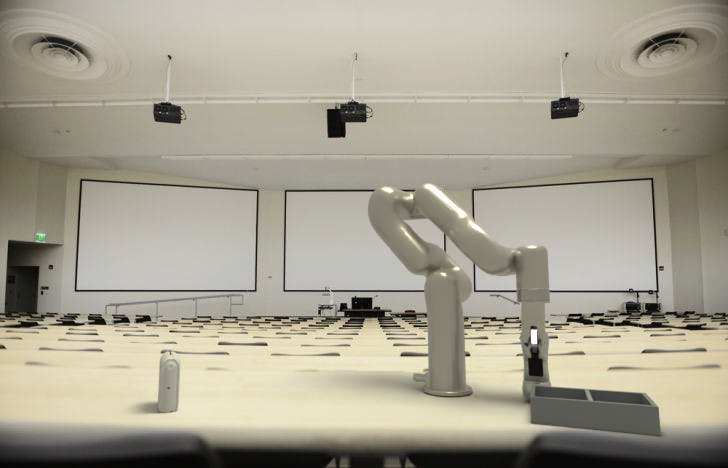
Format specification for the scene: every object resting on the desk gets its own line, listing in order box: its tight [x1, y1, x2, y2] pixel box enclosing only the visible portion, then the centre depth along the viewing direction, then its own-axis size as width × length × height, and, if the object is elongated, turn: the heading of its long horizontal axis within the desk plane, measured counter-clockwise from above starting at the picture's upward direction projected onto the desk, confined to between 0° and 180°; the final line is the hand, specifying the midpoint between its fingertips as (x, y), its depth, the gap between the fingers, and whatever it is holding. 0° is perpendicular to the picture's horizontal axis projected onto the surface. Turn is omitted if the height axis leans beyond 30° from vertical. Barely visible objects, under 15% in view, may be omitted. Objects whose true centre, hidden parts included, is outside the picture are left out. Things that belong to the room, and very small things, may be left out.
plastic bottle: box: [519, 330, 552, 401], centre depth 109 cm, size 6×7×20 cm
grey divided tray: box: [529, 385, 662, 437], centre depth 93 cm, size 22×12×5 cm, turn 69°
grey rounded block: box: [157, 351, 181, 413], centre depth 105 cm, size 10×4×12 cm, turn 25°
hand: (536, 372), depth 109 cm, fingers closed on plastic bottle, 5 cm apart
